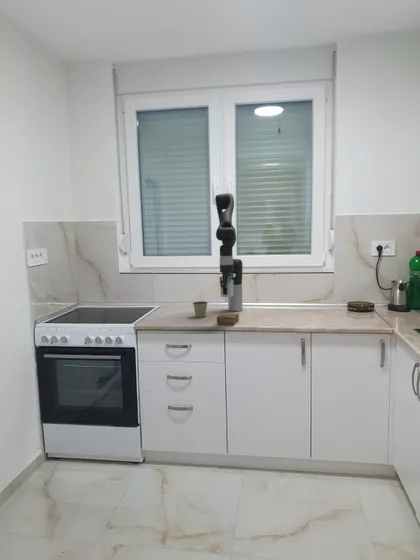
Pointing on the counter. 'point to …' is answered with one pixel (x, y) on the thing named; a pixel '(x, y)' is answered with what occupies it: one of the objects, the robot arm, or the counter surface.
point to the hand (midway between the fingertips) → (227, 293)
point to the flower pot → (200, 308)
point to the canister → (228, 289)
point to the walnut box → (227, 319)
